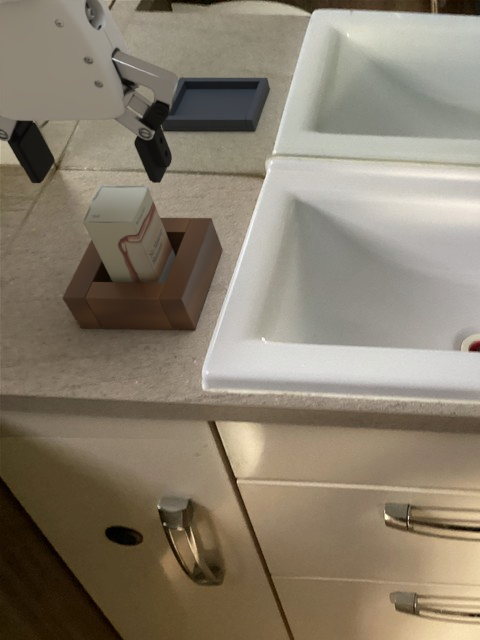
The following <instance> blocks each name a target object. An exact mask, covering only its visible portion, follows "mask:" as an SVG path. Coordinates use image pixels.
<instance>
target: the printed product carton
mask: <svg viewBox="0 0 480 640" xmlns="http://www.w3.org/2000/svg"><path fill="white" fill-rule="evenodd" d="M160 218H161V216H160V214H159V211H158V209H157V206H156V204H155V201H154V199H153V196H152V194H151V191H150V189H149V186H148V185H113V184H112V185H107V184H106V185H104V184H103V185H100V186H99V188H98V190H97V191H96V193H95V195H94V197H93V199H92V200H91V202H90V203H89V206H88V209H87V211H86V213H85V215H84V218H83V220H82V223H83V225H84V227H85V229H86V231H87V233H88V235H89V237H90V239H91V240H92V241H93V243H94V245H95V247H96V249H97V251H98V253H99V255H100V258H101V259H102V261H103V264H104V265H105V267H106V269H107V272H108V274H109V275H110V278H111V280H112V282H146V283H166V280H167V278H168V275H169V272H170V270H171V267H172V265H173V262H174V260H175V257H176V256H175V254H174V251H173V249H172V246H171V244H170V241H169V239H168V236H167V234H166V231H165V229H164V226H163V224H162V221H161V219H160Z"/></svg>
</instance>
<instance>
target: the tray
mask: <svg viewBox="0 0 480 640" xmlns="http://www.w3.org/2000/svg"><path fill="white" fill-rule="evenodd" d="M270 89H271V86H270V84H269V79H268V77H178V84H177V89H176V94H175V97H174V104H173V106H172V108H171V110H170V112H169V114H168V117H167V118H166V119H165V121H164V122H163V123H162V125H161V128H162V131H164V130H165V131H166V130H167V131H168V132H170V131H171V130H172V131H174V132H175V131H176V132H177V131H178V132H182V131H183V132H185V131H186V132H188V131H189V132H191V131H192V132H193V131H195V132H199V131H200V132H255V131H256V129H257V126H258V123H259V120H260V117H261V116H262V115H261V114H262V112H263V109H264V107H265V103H266V101H267V98H268V95H269V93H270ZM169 130H170V131H169ZM165 131H164V132H165ZM172 131H171V132H172Z"/></svg>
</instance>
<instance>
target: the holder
mask: <svg viewBox="0 0 480 640" xmlns="http://www.w3.org/2000/svg"><path fill="white" fill-rule="evenodd" d="M160 219H161V221H162V224H163V226H164V229H165V231H166V234H167V236H168V239H169V241H170V244H171V246H172V249H173V251H174V254H175V256H176V257H175V260H174V262H173V265H172V267H171V270H170V272H169V275H168V278H167V280H166V283H146V282H112V280H111V278H110V275H109V274H108V272H107V269H106V267H105V265H104V264H103V261H102V259H101V258H100V255H99V253H98V251H97V249H96V247H95V245H94V243H93V241H92V239H91V240H90V242H89V243H88V245H87V248H86V250H85V251H84V253H83V255H82V257H81V260H80V261H79V264H78V266H77V268H76V269H75V272H74V274H73V276H72V278H71V279H70V282H69V284H68V286H67V288H66V289H65V292H64V294H63V295H62V300H63V302H64V304H65V305H66V306H67V308H68V310H69V311H70V313H71V314H72V316H73V318H74V320H75V321H76V323H77V324H78V326H79V328H80V329H119V330H120V329H124V330H125V329H126V330H127V329H128V330H129V329H130V330H131V329H132V330H133V329H135V330H190V331H191V330H193V331H194V330H196V329H197V328H196V327H197V326H198V322H199V319H200V317H201V313H202V310H203V308H204V305H205V302H206V298H207V296H208V292H209V290H210V287H211V284H212V281H213V278H214V275H215V273H216V269H217V266H218V263H219V260H220V258H221V255H222V252H223V246H222V244H221V241H220V238H219V235H218V232H217V229H216V227H215V224H214V222H213V218H212V217H160Z"/></svg>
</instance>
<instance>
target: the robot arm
mask: <svg viewBox="0 0 480 640" xmlns="http://www.w3.org/2000/svg"><path fill="white" fill-rule="evenodd" d="M178 80H179V77H178V75H177V74H176V73H175V72H173V71H170V70H168V69H165V68H163V67H160V66H158V65H155V64H153V63H150V62H149V61H148V62H147V61H145V60H143V59H140V58H139V57H135V56H133V55H132V53H131V51H130V49H129V46H128V44H127V42H126V39H125V37H124V35H123V34H122V32H121V30H120V27H119V26H118V23H117V22H116V20H115V18H114V16H113V14H112V12H111V10H110V8H109V7H108V5H107V3H106V1H105V0H0V141H1V142H7V144H8V146H9V147H10V149H11V151H12V153H13V155H14V156H15V158H16V159H17V161H18V163H19V165H20V166H21V167H22V168H23V170H24V172H25V173H26V175H27V177H28V179H29V180H30V182H31V183H32V184H41V183H42V182H44V180H45V178H46V177H47V176H48V173H49V172H50V170H51V168H52V167H53V165H54V164H55V161H56V160H55V157H54V154H53V153H52V151H51V149H50V147H49V145H48V144H47V141H46V139H45V138H44V136H43V134H42V132H41V129H40V128H39V127H38V125H37V123H36V122H37V121H39V122H40V121H41V122H42V121H46V122H47V121H48V122H49V121H51V122H53V121H55V122H57V121H59V122H60V121H61V122H62V121H63V122H65V121H107V120H110V121H111V120H115V121H116V122H118V123H119V124H120V125H122V126H123V127H125V128H126V129H127V130H129V131H130V132H131V133H133V134H134V135H136V136H135V139H134V141H133V142H134V147H135V150H136V152H137V155H138V157H139V160H140V162H141V163H142V166H143V168H144V170H145V173H146V175H147V178H148V180H149V181H150V182H151V183H153V184H156V183H157V184H160V183H162V180H163V178H164V176H165V175H166V172H167V169H168V168H169V167H170V166H171V164H172V160H173V156H172V152H171V151H172V150H171V149H170V147H169V144H168V141H167V138H166V135H165V133H164V130H163V128H162V123H163V122H164V121H165V119H166V118H167V117H168V114H169V112H170V110H171V108H172V106H173V104H174V97H175V94H176V89H177V84H178ZM140 86H142V87H145V88H148V89H150V90H151V91H152V92H153V101H151V100H149V99H147V98H146V97H145V96H144V95H142V94H141V93H140V92H138V91H137V90H136V89H139V88H140ZM129 107H130V108H131V109H130V108H129ZM133 110H134V111H135V112H136V113H138V114H139V115H140V116H139V115H138V114H136V113H135V112H134V111H133ZM141 116H142V117H141Z"/></svg>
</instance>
